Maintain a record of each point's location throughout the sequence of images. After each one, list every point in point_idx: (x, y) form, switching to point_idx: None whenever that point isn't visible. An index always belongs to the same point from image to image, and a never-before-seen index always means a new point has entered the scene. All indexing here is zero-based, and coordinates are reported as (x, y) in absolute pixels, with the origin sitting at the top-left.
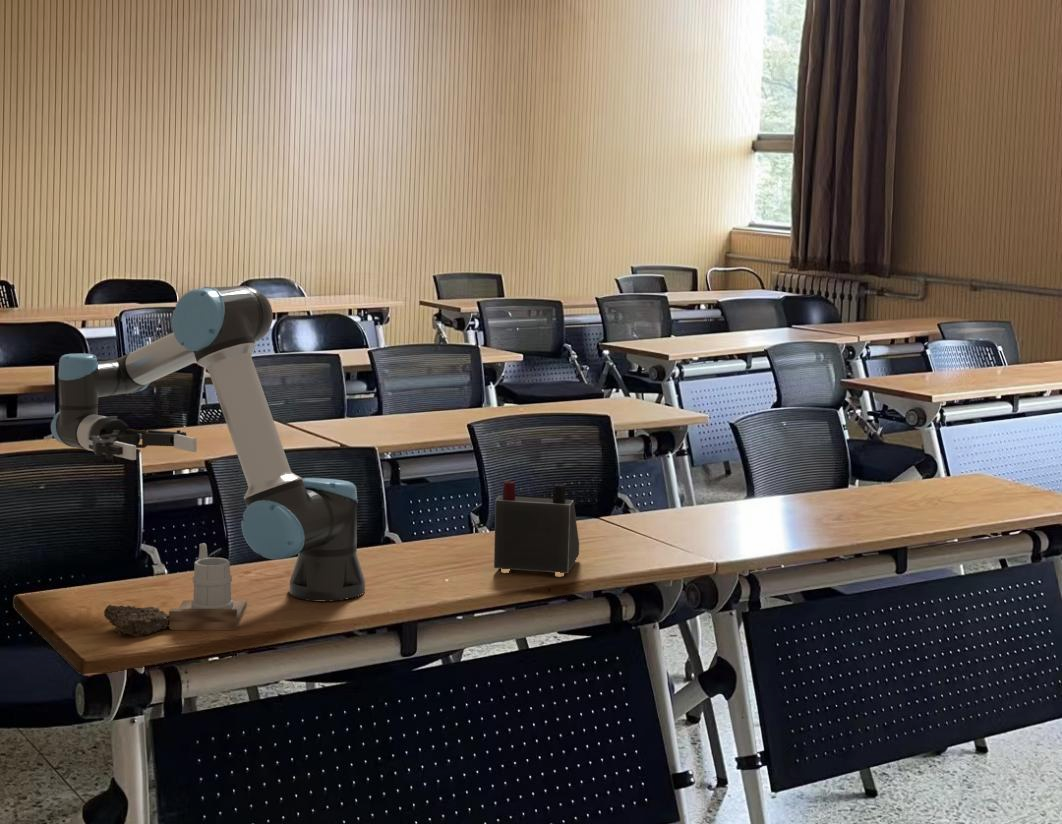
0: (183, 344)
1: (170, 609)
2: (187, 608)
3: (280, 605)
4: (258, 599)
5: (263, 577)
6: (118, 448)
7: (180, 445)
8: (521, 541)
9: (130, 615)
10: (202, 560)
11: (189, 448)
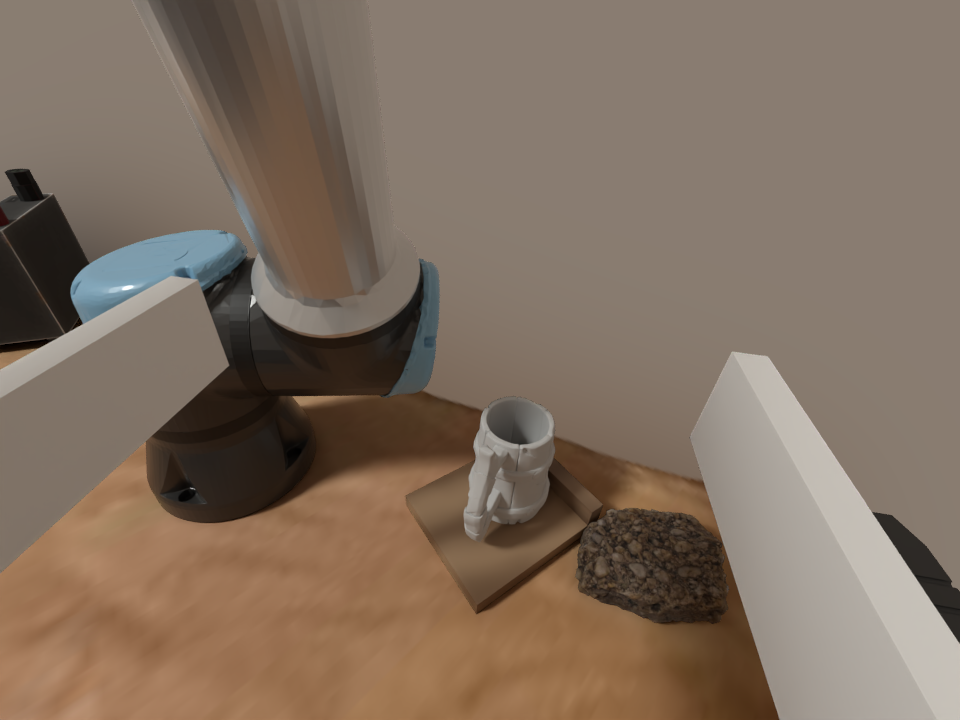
0: None
1: (594, 510)
2: (516, 550)
3: (359, 472)
4: (338, 526)
5: (118, 652)
6: (881, 519)
7: (79, 461)
8: (58, 277)
9: (688, 530)
10: (518, 445)
11: (190, 377)
